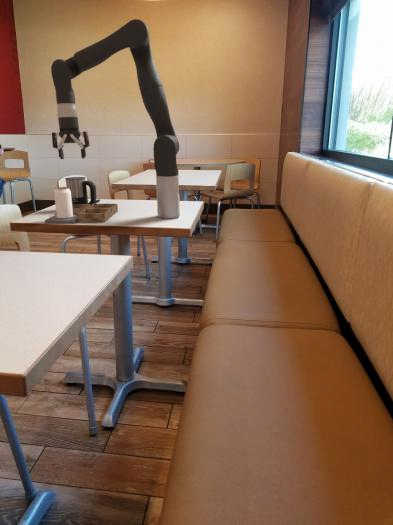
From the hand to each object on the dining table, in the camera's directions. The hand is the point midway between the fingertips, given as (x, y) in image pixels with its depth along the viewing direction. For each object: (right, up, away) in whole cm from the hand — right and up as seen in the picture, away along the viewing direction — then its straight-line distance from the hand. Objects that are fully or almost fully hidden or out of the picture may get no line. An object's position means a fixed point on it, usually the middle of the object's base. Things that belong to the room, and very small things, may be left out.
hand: (72, 158), depth 165 cm
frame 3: (+9, -20, +16) cm, 27 cm away
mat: (-4, -25, +3) cm, 25 cm away
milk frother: (-3, -16, +29) cm, 33 cm away
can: (-4, -24, +2) cm, 24 cm away
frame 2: (+8, -24, +4) cm, 26 cm away
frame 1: (-4, -21, +14) cm, 25 cm away
